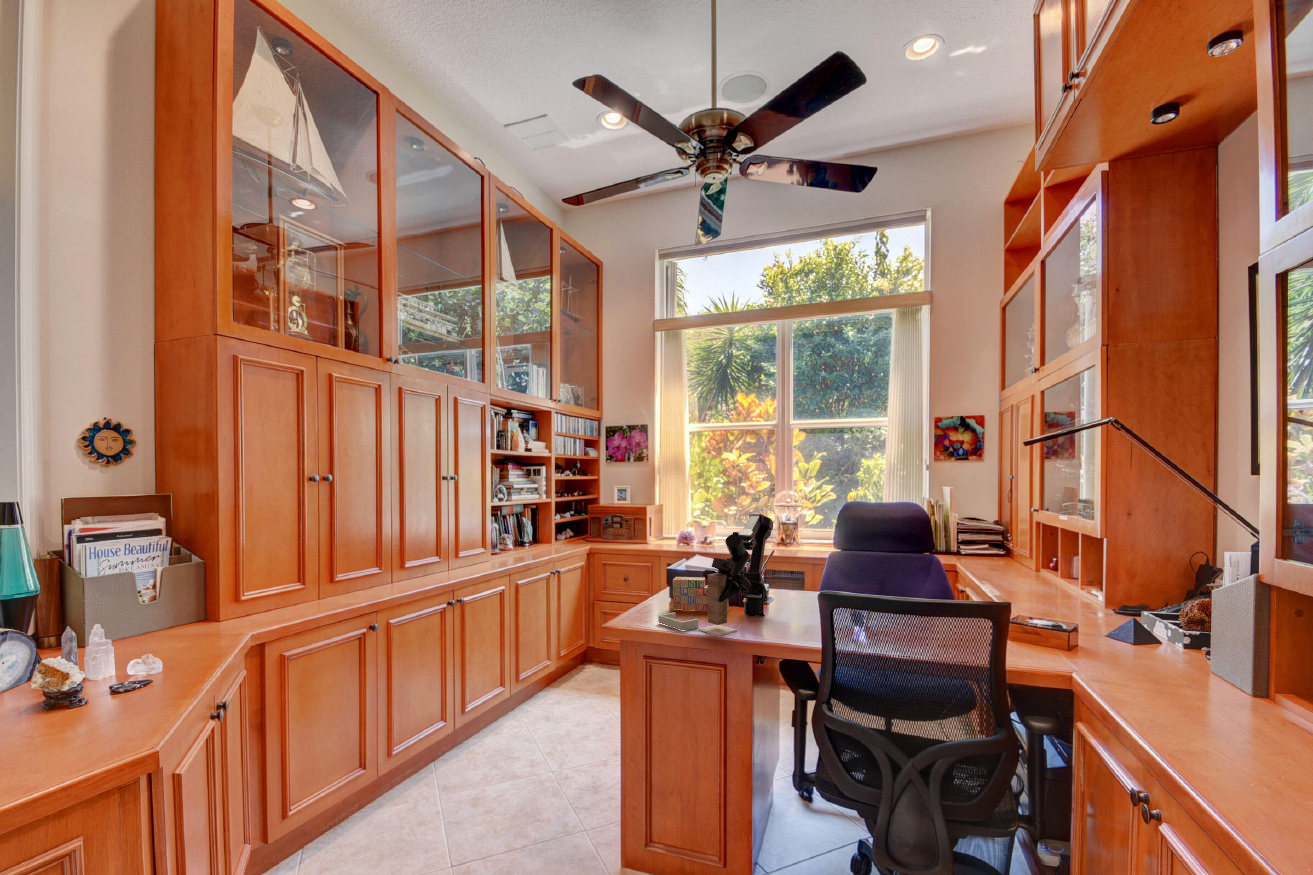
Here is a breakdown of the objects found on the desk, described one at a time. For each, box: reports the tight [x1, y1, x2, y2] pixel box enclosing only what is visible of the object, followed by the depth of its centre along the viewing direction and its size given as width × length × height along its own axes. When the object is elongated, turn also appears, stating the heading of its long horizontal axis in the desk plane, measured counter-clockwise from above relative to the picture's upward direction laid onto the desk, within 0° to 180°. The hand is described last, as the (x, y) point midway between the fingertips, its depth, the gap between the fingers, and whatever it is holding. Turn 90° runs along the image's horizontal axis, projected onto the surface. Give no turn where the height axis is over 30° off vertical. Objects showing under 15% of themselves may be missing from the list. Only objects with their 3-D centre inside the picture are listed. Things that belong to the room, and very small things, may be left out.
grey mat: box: [698, 624, 737, 637], centre depth 193 cm, size 9×9×1 cm
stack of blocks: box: [672, 576, 730, 613], centre depth 224 cm, size 21×6×12 cm, turn 77°
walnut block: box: [707, 572, 728, 625], centre depth 193 cm, size 4×4×16 cm
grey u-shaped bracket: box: [657, 611, 699, 631], centre depth 199 cm, size 7×13×3 cm, turn 39°
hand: (714, 600), depth 193 cm, fingers closed on walnut block, 4 cm apart
